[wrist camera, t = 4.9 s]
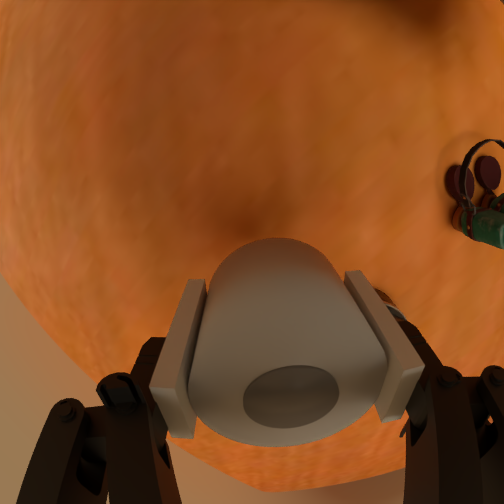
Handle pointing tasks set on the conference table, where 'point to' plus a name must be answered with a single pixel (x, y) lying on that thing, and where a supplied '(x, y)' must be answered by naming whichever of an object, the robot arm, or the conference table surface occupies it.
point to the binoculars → (492, 209)
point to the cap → (282, 349)
